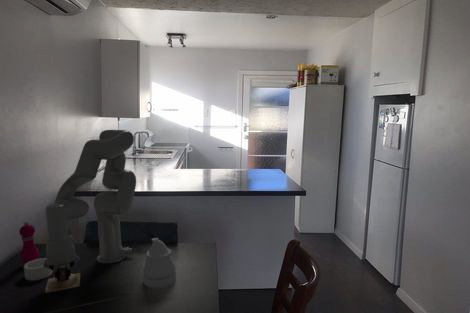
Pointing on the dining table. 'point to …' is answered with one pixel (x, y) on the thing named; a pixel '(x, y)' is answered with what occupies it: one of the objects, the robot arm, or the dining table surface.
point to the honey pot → (159, 266)
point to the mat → (49, 289)
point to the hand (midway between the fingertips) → (63, 278)
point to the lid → (63, 279)
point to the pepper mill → (28, 243)
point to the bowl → (36, 270)
